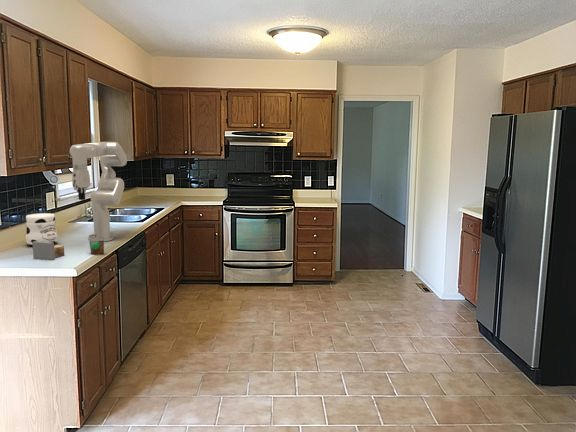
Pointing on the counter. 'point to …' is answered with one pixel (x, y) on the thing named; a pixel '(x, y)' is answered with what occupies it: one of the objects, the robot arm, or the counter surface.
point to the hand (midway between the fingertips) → (82, 199)
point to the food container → (96, 244)
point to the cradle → (59, 252)
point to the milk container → (41, 228)
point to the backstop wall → (43, 250)
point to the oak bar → (58, 247)
